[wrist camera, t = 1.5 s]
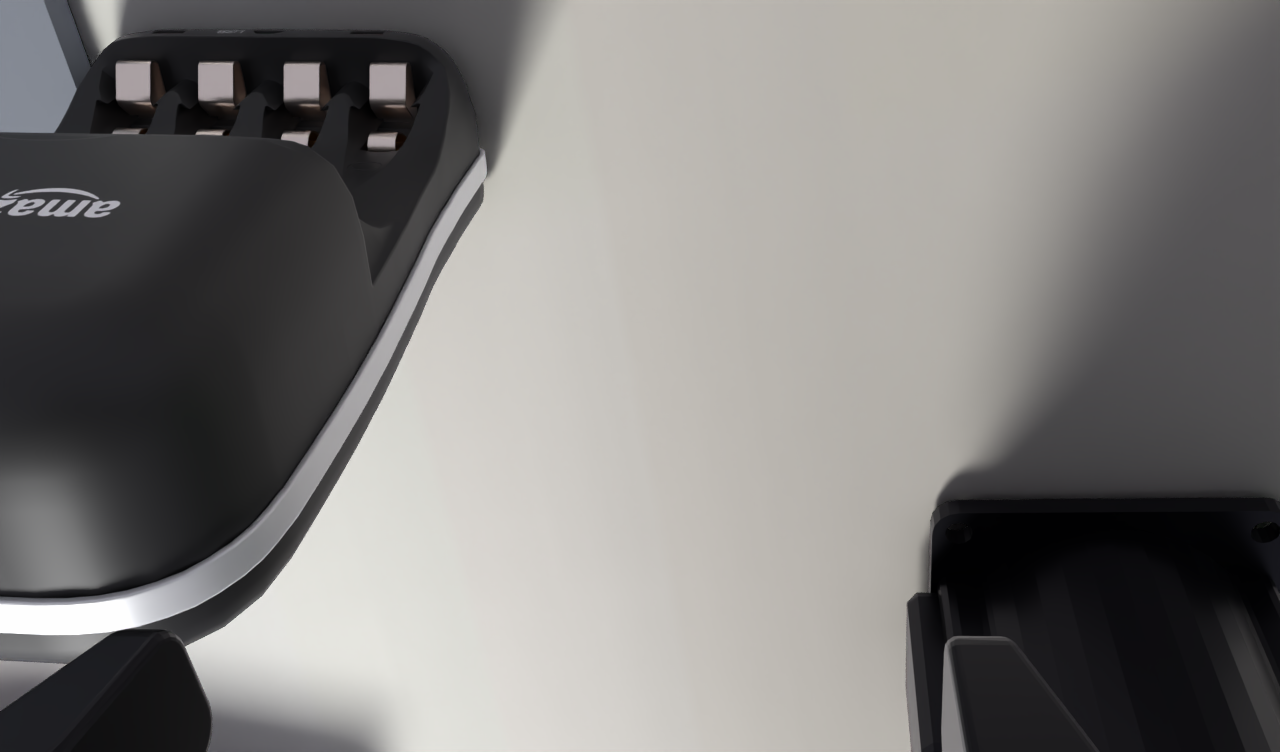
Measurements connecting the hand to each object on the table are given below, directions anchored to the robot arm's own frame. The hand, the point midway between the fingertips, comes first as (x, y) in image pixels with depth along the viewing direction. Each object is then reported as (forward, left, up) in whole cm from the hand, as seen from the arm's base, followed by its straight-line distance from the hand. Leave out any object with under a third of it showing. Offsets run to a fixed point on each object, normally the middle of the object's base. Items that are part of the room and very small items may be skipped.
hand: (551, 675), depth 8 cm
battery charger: (+7, 0, -13) cm, 15 cm away
